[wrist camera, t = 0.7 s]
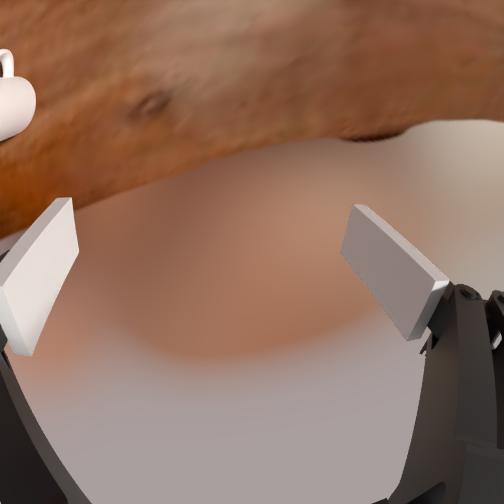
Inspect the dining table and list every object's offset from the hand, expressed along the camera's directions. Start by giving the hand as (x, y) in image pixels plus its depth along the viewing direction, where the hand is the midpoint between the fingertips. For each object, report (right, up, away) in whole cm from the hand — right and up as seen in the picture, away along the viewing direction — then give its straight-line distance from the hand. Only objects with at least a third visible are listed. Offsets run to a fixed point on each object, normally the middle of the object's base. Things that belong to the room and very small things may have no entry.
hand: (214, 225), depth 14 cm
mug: (-30, +20, +14) cm, 38 cm away
